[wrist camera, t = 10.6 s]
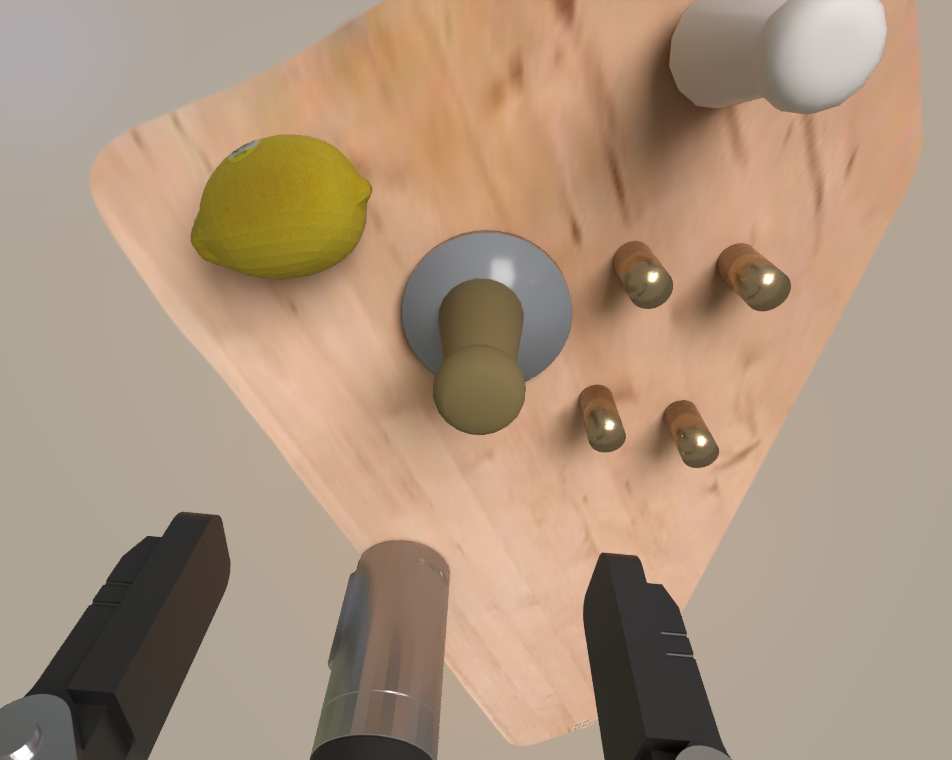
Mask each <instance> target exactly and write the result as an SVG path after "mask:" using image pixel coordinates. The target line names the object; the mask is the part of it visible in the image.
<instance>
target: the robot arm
mask: <svg viewBox="0 0 952 760" xmlns="http://www.w3.org/2000/svg"><path fill="white" fill-rule="evenodd" d="M229 574H230V558H229V553H228V548H227V543H226V538H225V533H224V528H223V522H222V519H221V517H220V516H219V515H210V514H201V513H190V512H181V513H178V514H177V515H176V516H175V517H174V519H173V520H172V522H171V523H170V525H169V527H168V528H167V530H166V531H165V533H164V535H163V536H162V537H153V536H147V537H146V538H145V539H143V540H142V541H141V542H140V543H138V544H137V545H136V546H135V547H133V548H132V549H131V550H130V551H128V552H127V553H126V554H125V555H123V556H122V558H121V559H120V561H119V562H118V564H117V565H116V567H115V568H114V570H113V571H112V573H111V574H110V576H109V577H108V579H107V581H106V584H105V585H103V586H102V587H101V589H100V590H99V592H98V594H97V595H96V596H95V598H94V599H93V603H92V605H89V607H88V608H87V609H86V611H85V612H84V614H83V615H82V617H81V618H80V620H79V621H78V623H77V624H76V626H75V627H74V629H73V630H72V631H71V633H70V634H69V636H68V637H67V639H66V640H65V642H64V643H63V645H62V646H61V647H60V649H59V650H58V652H57V653H56V655H55V656H54V658H53V659H52V661H51V662H50V664H49V665H48V667H47V668H46V669H45V671H44V673H43V674H42V675H41V677H40V679H39V680H38V681H37V682H36V684H35V685H34V686H33V688H32V689H31V690H30V691H29V692H28V693H27V694H26V695H25V696H24V697H23V698H21V699H18V700H16V701H13V702H11V703H9V704H7V705H5V706H4V707H2V708H1V709H0V760H148V757H149V755H150V753H151V751H152V749H153V747H154V744H155V742H156V740H157V738H158V736H159V734H160V731H161V729H162V727H163V725H164V723H165V721H166V718H167V716H168V714H169V712H170V709H171V707H172V705H173V703H174V701H175V699H176V697H177V695H178V692H179V690H180V688H181V686H182V684H183V681H184V679H185V677H186V675H187V673H188V671H189V668H190V666H191V664H192V662H193V660H194V658H195V656H196V653H197V651H198V649H199V647H200V645H201V643H202V640H203V638H204V636H205V634H206V632H207V629H208V627H209V625H210V623H211V621H212V619H213V616H214V614H215V612H216V609H217V608H218V606H219V603H220V601H221V599H222V597H223V595H224V592H225V590H226V587H227V584H228V580H229ZM449 580H450V571H449V567H448V565H447V563H446V561H445V560H444V559H443V558H442V557H441V556H440V555H439V554H438V553H437V552H435V551H434V550H432V549H431V548H428V547H426V546H424V545H421V544H418V543H414V542H407V541H391V542H386V543H381V544H379V545H376V546H374V547H372V548H370V549H369V550H367V551H366V552H365V553H364V554H363V555H362V556H361V558H360V560H359V562H358V566H357V570H356V571H355V572H354V573H352V574H351V575H350V578H349V581H348V586H347V589H346V594H345V597H344V601H343V605H342V609H341V613H340V617H339V621H338V625H337V629H336V633H335V637H334V640H333V644H332V648H331V652H330V656H329V661H328V666H329V668H330V669H331V670H332V671H331V675H330V679H329V683H328V687H327V691H326V695H325V699H324V703H323V708H322V712H321V717H320V720H319V724H318V728H317V733H316V737H315V741H314V745H313V749H312V753H311V757H310V760H437V754H438V739H439V723H440V709H441V695H442V681H443V667H444V652H445V638H446V624H447V611H448V596H449ZM583 621H584V629H585V636H586V642H587V649H588V655H589V662H590V668H591V674H592V681H593V687H594V694H595V700H596V707H597V713H598V720H599V726H600V732H601V739H602V746H603V752H604V758H605V760H732V759H731V758H730V756H729V755H728V753H727V751H726V749H725V747H724V746H723V743H722V741H721V738H720V735H719V732H718V729H717V726H716V722H715V719H714V716H713V713H712V710H711V707H710V704H709V701H708V698H707V694H706V691H705V688H704V685H703V682H702V679H701V676H700V672H699V669H698V666H697V663H696V660H695V659H694V658H693V651H692V647H691V644H690V641H689V639H688V638H687V636H686V634H687V632H686V629H685V626H684V622H683V619H682V616H681V613H680V610H679V607H678V606H677V604H676V603H675V602H674V600H673V599H672V598H671V596H670V595H669V593H668V592H667V591H666V589H665V588H664V587H663V585H662V584H651V583H647V581H646V578H645V574H644V571H643V567H642V564H641V561H640V559H639V558H638V557H637V556H634V555H623V554H613V553H601V554H600V556H599V558H598V561H597V564H596V567H595V569H594V572H593V575H592V578H591V581H590V583H589V586H588V589H587V592H586V595H585V599H584V607H583Z"/></svg>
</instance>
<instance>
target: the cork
mask: <svg viewBox="0 0 952 760" xmlns="http://www.w3.org/2000/svg"><path fill="white" fill-rule="evenodd" d="M523 320H524V312H523V308H522V304H521V302H520V300H519V299H518V297H517V296H516V294H515V293H514V292H513V291H512V290H511V289H510V288H508V287H507V286H506V285H504V284H503V283H500V282H497V281H495V280H492V279H481V278H475V279H471V280H468V281H464V282H462V283H460V284H458V285H457V286H455V287H454V288H452V289H451V290H450V291H449V292H448V294H447V295H446V296H445V297H444V298H443V301H442V303H441V306H440V309H439V328H440V336H441V345H442V353H443V363H442V364H441V365H440V367H439V369H438V371H437V374H436V376H435V379H434V384H433V397H434V400H435V403H436V406H437V409H438V411H439V413H440V415H441V416H442V417H443V418H444V419H445V421H446V422H447V423H449V424H450V425H451V426H453V427H455V428H456V429H458V430H459V431H462V432H465V433H468V434H474V435H485V434H490V433H495V432H497V431H499V430H501V429H503V428H505V427H506V426H508V425H509V424H510V423H511V422H512V421H513V420H514V419H515V418H516V417H517V416H518V414H519V412H520V410H521V408H522V407H523V404H524V401H525V392H526V387H525V381H524V378H523V374H522V371H521V369H520V368H519V366H518V365H517V358H518V352H519V346H520V340H521V334H522V329H523Z"/></svg>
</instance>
